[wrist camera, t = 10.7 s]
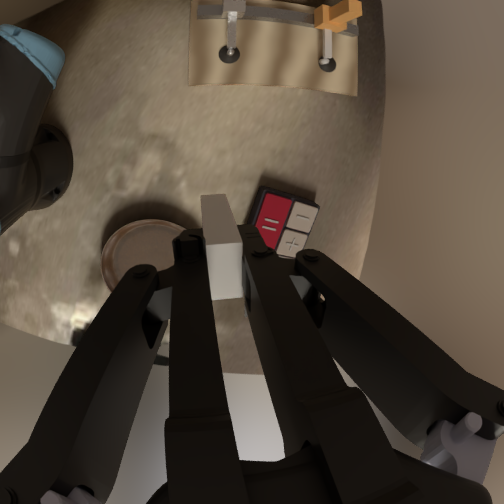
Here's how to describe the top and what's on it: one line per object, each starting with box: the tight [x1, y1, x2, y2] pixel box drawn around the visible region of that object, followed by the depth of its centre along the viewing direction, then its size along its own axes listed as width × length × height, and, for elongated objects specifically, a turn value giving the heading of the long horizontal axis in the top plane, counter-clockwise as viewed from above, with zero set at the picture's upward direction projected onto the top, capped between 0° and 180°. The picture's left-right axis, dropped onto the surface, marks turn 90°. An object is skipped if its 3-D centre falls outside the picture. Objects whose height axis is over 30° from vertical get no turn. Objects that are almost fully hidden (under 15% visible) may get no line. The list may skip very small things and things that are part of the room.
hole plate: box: [189, 0, 358, 96], centre depth 33 cm, size 28×16×2 cm, turn 89°
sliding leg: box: [314, 0, 362, 65], centre depth 28 cm, size 4×10×11 cm, turn 179°
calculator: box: [247, 186, 320, 259], centre depth 49 cm, size 11×4×15 cm
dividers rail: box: [197, 0, 359, 57], centre depth 30 cm, size 26×10×5 cm, turn 89°
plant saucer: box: [100, 219, 187, 293], centre depth 48 cm, size 21×21×3 cm
